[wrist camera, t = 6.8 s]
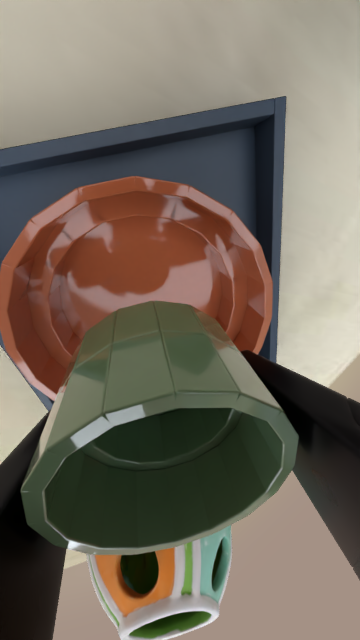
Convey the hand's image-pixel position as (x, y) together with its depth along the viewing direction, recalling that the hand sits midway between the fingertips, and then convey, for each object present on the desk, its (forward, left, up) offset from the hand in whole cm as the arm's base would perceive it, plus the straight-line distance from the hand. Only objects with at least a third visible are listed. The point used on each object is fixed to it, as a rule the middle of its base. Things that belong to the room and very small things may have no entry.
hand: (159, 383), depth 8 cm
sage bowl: (0, 0, -1) cm, 1 cm away
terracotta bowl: (0, 0, -9) cm, 9 cm away
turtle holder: (+3, +19, -9) cm, 22 cm away
